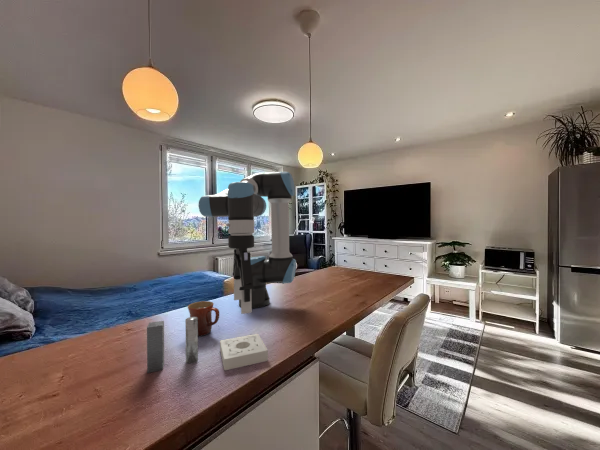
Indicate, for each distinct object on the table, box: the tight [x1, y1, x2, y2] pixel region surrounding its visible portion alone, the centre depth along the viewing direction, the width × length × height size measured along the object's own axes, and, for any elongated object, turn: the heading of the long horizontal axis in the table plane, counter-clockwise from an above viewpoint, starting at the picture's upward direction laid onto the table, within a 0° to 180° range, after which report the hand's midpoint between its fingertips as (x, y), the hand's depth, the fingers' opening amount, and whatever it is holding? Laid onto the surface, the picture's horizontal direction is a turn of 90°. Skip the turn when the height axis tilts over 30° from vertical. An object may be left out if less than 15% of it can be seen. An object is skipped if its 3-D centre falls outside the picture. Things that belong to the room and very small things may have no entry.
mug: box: [187, 300, 220, 337], centre depth 89 cm, size 12×9×10 cm
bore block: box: [219, 333, 269, 371], centre depth 74 cm, size 12×12×3 cm
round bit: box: [184, 316, 199, 365], centre depth 71 cm, size 3×3×12 cm
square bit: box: [146, 320, 165, 374], centre depth 68 cm, size 4×4×12 cm
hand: (242, 305), depth 74 cm, fingers open, 13 cm apart
